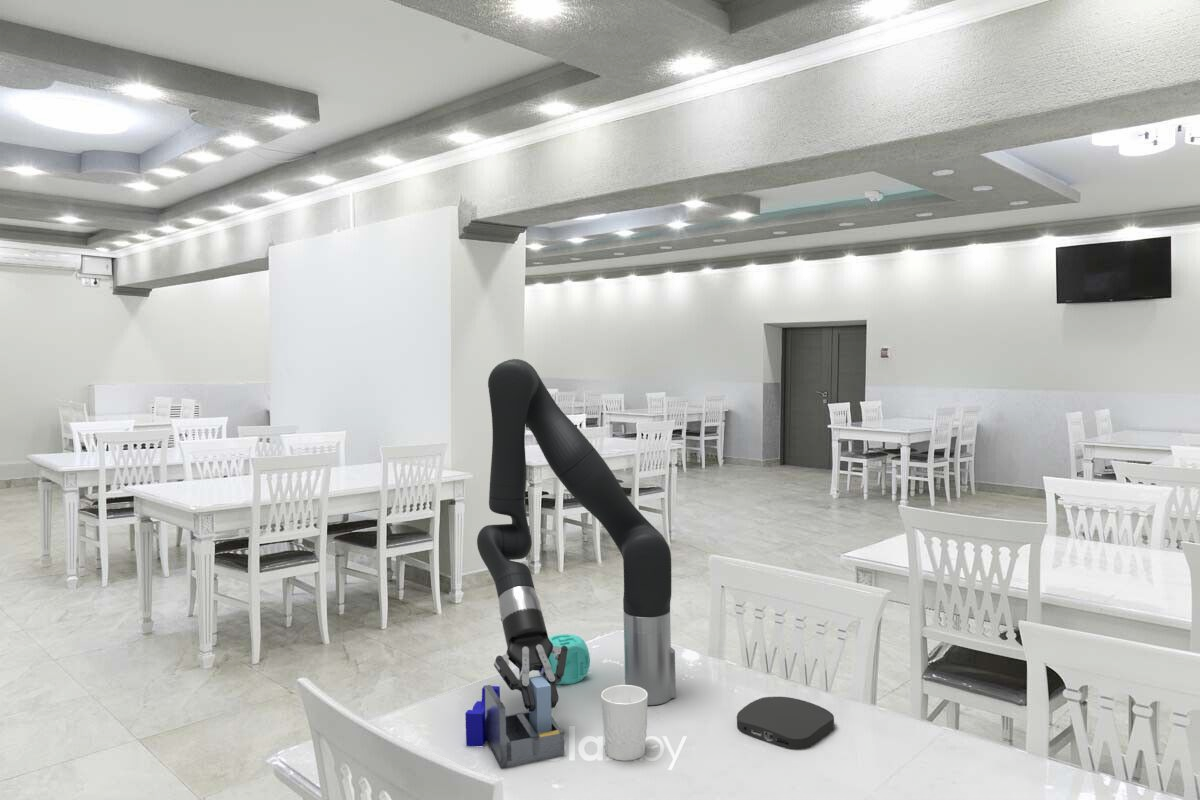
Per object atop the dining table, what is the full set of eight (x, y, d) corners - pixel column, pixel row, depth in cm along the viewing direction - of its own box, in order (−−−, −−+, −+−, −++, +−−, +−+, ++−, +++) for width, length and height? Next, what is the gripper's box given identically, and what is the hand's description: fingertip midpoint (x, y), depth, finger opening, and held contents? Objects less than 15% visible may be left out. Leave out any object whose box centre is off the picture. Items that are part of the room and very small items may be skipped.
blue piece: (477, 716, 153) (476, 685, 152) (500, 717, 152) (499, 686, 152) (458, 746, 141) (457, 713, 140) (483, 747, 140) (482, 714, 140)
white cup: (654, 744, 140) (652, 687, 139) (641, 766, 132) (640, 706, 132) (610, 738, 142) (609, 682, 142) (596, 759, 135) (594, 700, 134)
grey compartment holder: (546, 729, 146) (544, 675, 146) (564, 755, 136) (563, 697, 136) (486, 741, 142) (484, 685, 142) (501, 768, 132) (499, 709, 132)
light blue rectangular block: (543, 731, 143) (542, 675, 143) (551, 743, 138) (550, 685, 138) (529, 733, 142) (528, 677, 142) (537, 745, 137) (536, 688, 137)
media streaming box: (842, 726, 146) (841, 710, 146) (801, 756, 135) (801, 739, 135) (771, 704, 156) (770, 689, 156) (728, 730, 145) (728, 714, 145)
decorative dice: (556, 688, 165) (555, 649, 164) (539, 675, 172) (538, 638, 171) (590, 679, 169) (589, 642, 168) (572, 667, 176) (571, 631, 175)
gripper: (487, 612, 144) (506, 706, 133) (562, 602, 149) (586, 691, 138) (481, 632, 149) (499, 724, 138) (554, 622, 154) (577, 710, 143)
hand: (543, 707), depth 138 cm, fingers open, 3 cm apart
